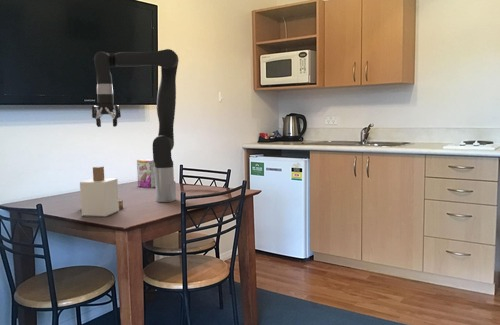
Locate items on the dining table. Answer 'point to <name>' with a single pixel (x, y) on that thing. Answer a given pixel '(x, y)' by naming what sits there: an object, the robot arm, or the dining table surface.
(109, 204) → the cover
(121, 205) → the walnut block
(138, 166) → the candy bar box
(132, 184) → the dining table surface
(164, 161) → the robot arm
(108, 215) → the mat
